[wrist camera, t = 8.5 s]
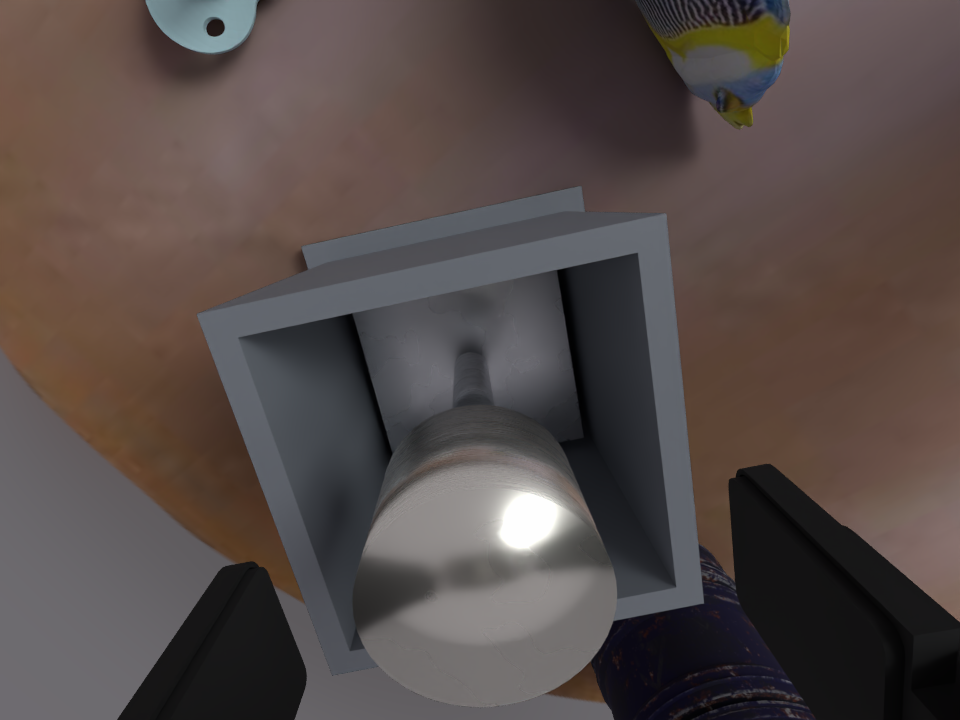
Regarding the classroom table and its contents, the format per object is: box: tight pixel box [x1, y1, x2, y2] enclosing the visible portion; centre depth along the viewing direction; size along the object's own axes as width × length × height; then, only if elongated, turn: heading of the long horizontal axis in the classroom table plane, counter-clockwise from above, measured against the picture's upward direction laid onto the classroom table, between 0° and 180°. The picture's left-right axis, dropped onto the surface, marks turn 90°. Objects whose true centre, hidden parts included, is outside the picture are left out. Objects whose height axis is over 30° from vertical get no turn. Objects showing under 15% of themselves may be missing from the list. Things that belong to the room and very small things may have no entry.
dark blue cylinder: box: [591, 544, 816, 720], centre depth 26 cm, size 10×10×15 cm
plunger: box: [352, 270, 617, 707], centre depth 17 cm, size 9×9×16 cm
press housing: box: [197, 186, 704, 676], centre depth 21 cm, size 14×14×14 cm
